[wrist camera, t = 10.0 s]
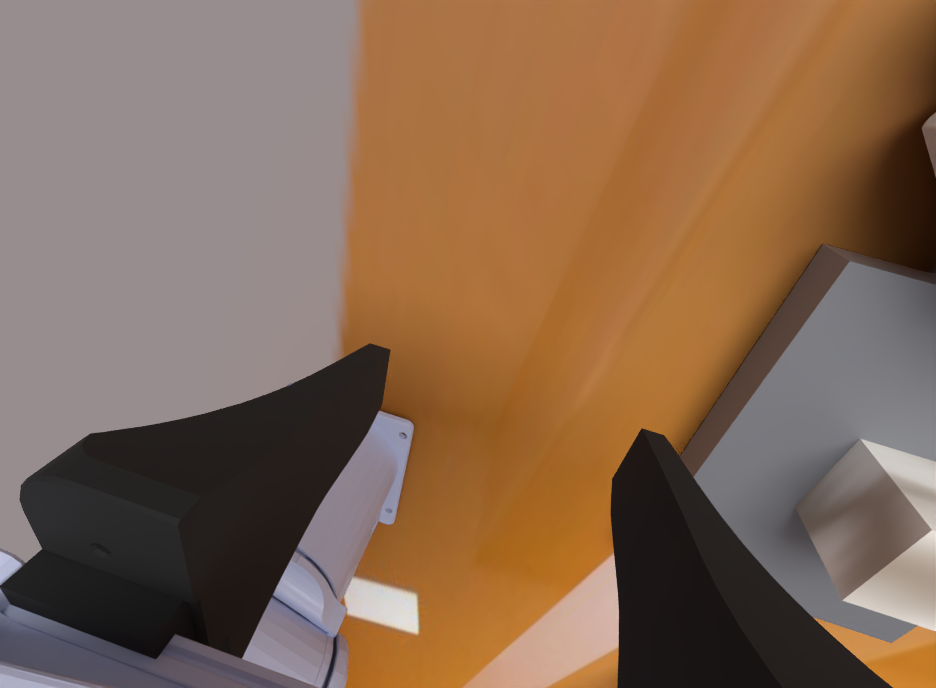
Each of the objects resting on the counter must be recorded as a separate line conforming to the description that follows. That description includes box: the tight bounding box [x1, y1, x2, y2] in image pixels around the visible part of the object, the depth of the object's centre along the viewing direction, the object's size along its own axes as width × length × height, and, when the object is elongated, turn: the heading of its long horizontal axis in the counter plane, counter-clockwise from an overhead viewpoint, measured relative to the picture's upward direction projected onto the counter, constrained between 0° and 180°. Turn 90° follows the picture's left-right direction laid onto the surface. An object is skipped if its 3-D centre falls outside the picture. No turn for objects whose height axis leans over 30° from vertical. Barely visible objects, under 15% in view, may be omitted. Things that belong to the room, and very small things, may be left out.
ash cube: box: [795, 439, 936, 631], centre depth 18 cm, size 4×4×4 cm
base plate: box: [680, 244, 936, 643], centre depth 21 cm, size 18×14×2 cm
